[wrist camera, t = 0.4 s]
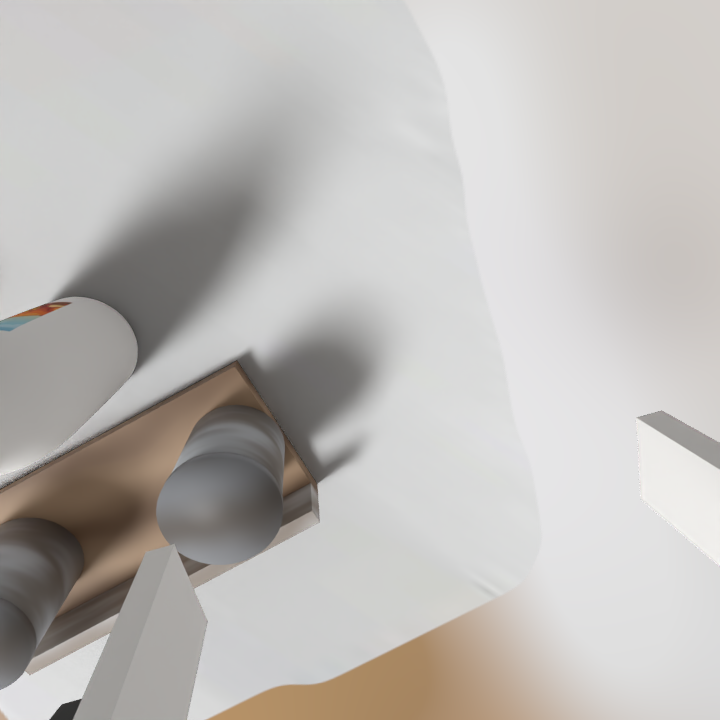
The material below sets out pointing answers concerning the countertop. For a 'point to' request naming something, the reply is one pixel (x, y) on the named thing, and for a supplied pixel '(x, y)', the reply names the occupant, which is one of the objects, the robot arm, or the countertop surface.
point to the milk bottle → (58, 374)
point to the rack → (143, 514)
